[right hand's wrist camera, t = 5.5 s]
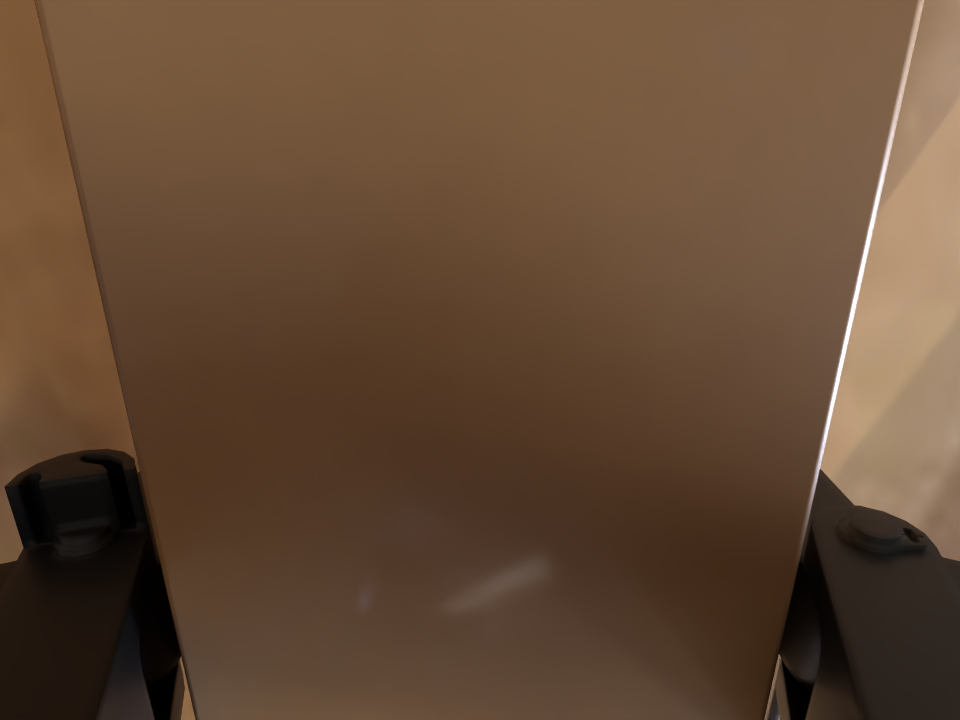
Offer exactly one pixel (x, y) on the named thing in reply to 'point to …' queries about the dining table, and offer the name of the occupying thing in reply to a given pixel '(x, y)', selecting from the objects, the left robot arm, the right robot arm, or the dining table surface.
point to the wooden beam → (479, 333)
